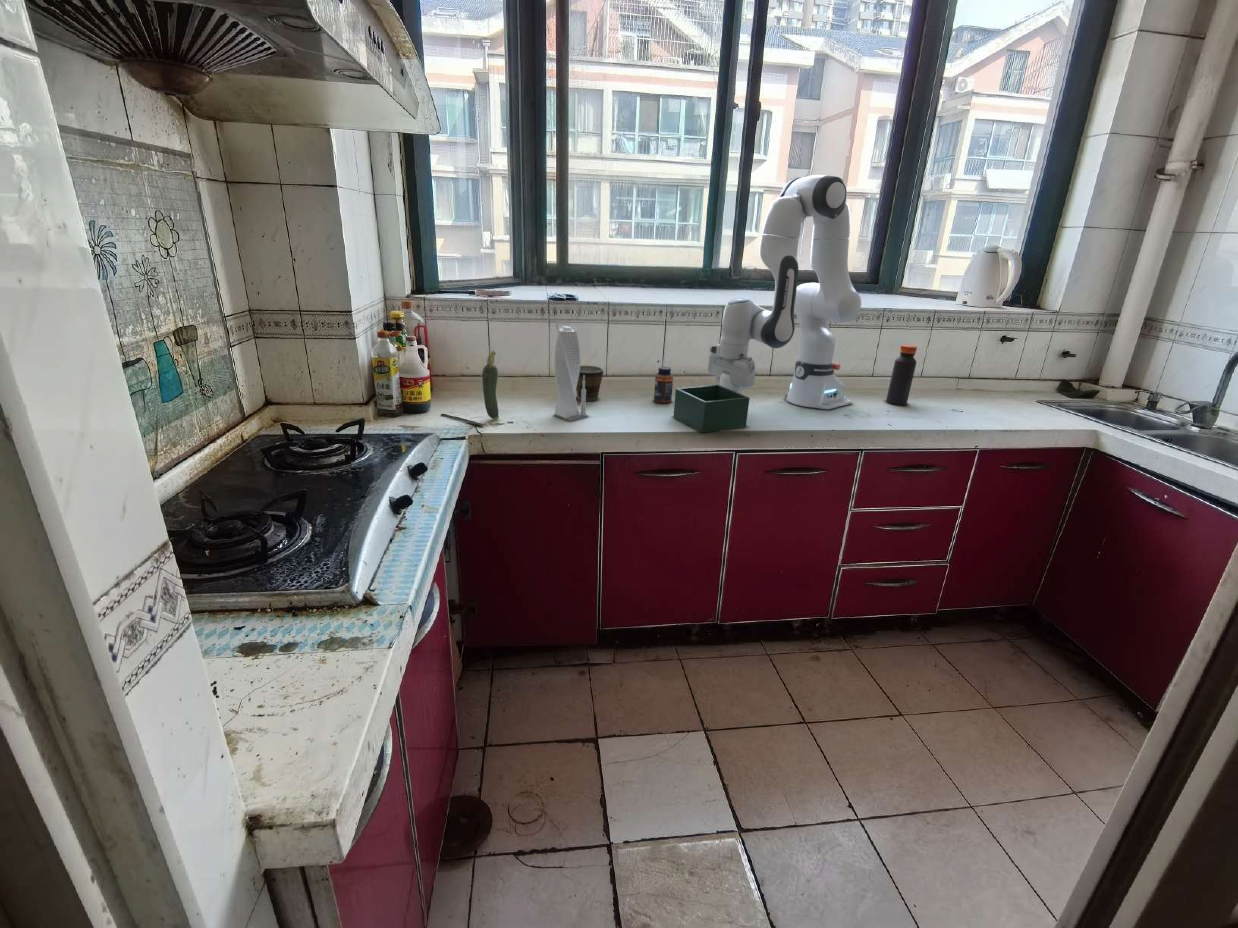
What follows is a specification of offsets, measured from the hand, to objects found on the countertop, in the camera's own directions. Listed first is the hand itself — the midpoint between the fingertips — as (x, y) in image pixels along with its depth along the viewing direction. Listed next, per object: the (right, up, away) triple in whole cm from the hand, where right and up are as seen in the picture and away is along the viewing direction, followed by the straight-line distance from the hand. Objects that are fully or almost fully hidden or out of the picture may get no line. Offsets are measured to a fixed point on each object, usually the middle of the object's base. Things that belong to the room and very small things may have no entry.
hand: (728, 394), depth 190 cm
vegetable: (-72, -10, -19) cm, 75 cm away
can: (0, -5, +2) cm, 5 cm away
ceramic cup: (-47, -1, +4) cm, 47 cm away
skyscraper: (-51, -8, -13) cm, 53 cm away
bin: (-8, -10, -12) cm, 18 cm away
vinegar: (+62, -1, +18) cm, 65 cm away
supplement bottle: (-21, -2, +7) cm, 22 cm away
